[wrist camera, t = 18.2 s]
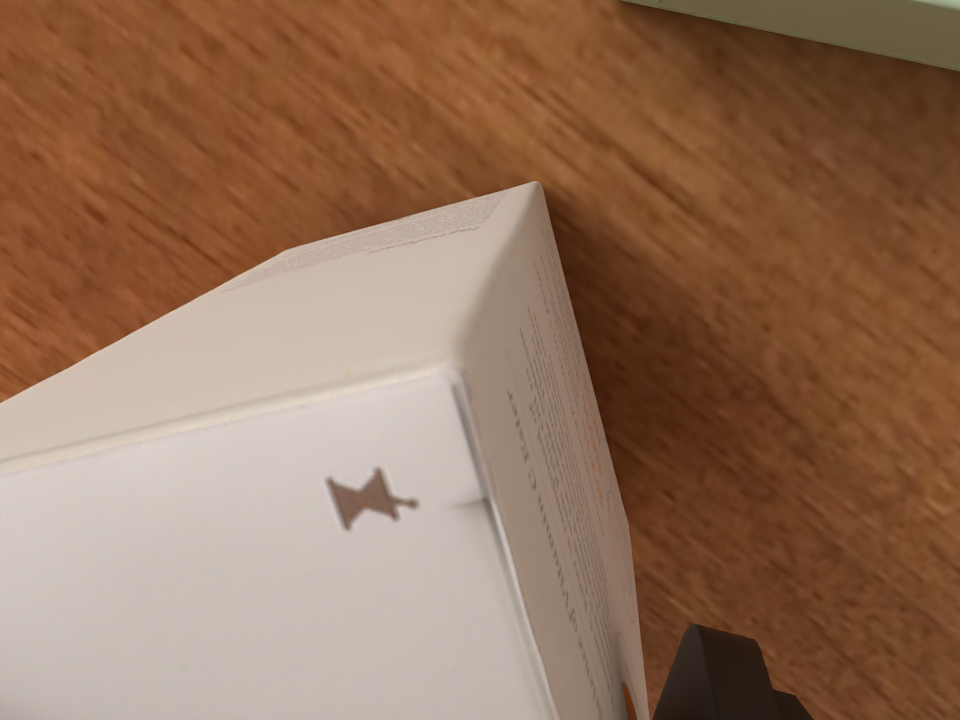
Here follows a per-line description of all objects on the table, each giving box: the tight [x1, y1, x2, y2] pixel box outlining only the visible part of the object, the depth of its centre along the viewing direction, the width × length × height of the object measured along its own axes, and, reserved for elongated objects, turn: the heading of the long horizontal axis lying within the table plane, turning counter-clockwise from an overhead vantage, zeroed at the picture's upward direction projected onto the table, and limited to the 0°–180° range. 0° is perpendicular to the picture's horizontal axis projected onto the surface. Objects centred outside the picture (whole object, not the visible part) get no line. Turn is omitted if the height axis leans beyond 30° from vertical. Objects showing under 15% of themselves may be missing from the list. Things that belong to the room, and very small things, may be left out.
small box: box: [0, 181, 650, 720], centre depth 11 cm, size 8×6×10 cm
